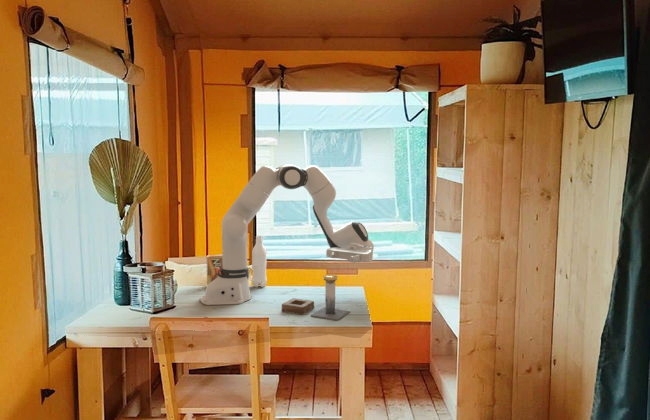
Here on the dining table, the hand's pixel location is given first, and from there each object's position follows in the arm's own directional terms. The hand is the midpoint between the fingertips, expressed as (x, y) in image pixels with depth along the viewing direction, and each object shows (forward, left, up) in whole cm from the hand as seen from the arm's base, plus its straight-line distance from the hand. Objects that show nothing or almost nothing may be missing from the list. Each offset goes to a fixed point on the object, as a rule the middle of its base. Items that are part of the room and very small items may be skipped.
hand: (342, 257), depth 222 cm
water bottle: (-26, +45, -22) cm, 56 cm away
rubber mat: (-8, -9, -22) cm, 25 cm away
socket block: (-19, +2, -22) cm, 29 cm away
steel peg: (-8, -8, -21) cm, 24 cm away
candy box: (-46, +52, -22) cm, 73 cm away
